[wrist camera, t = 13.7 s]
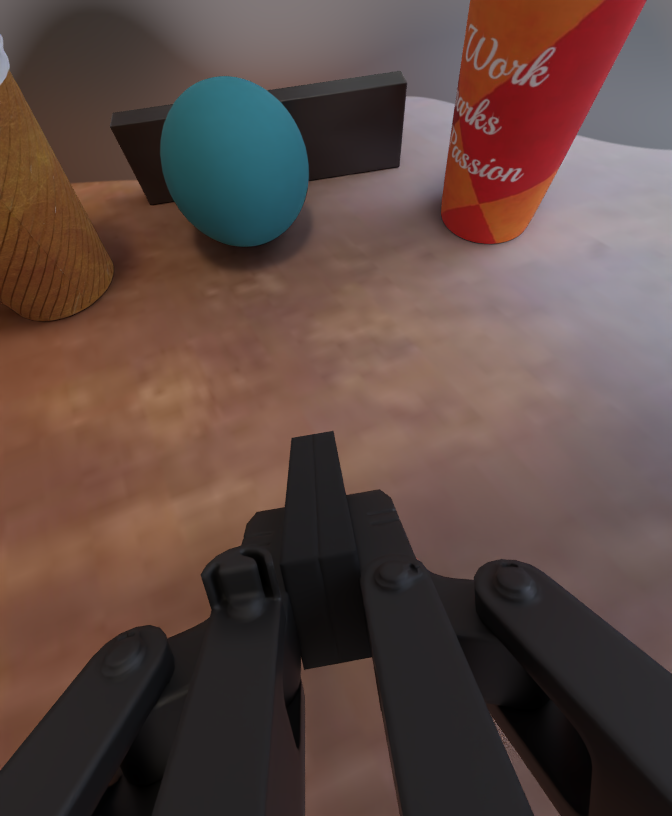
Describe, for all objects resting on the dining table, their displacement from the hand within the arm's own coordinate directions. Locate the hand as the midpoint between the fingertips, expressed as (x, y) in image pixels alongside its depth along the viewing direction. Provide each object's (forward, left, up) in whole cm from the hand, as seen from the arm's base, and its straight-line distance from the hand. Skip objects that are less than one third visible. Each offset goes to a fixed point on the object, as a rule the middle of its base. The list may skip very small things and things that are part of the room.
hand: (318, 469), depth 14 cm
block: (0, -23, -3) cm, 24 cm away
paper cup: (-13, -16, -4) cm, 21 cm away
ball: (+2, -18, +1) cm, 18 cm away
